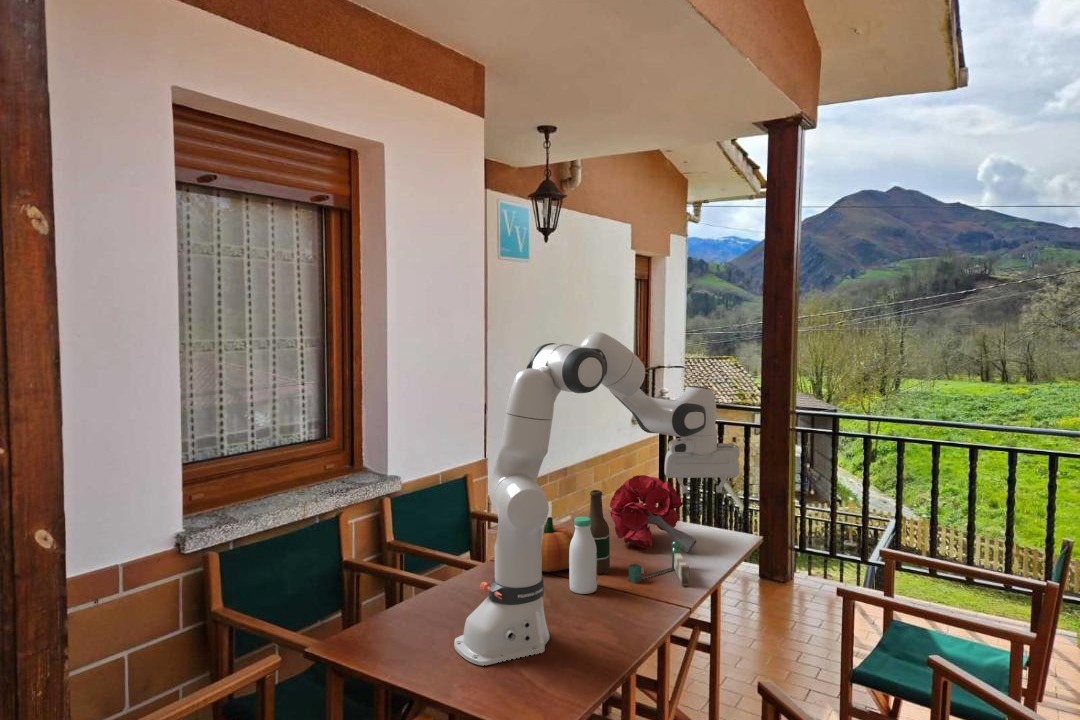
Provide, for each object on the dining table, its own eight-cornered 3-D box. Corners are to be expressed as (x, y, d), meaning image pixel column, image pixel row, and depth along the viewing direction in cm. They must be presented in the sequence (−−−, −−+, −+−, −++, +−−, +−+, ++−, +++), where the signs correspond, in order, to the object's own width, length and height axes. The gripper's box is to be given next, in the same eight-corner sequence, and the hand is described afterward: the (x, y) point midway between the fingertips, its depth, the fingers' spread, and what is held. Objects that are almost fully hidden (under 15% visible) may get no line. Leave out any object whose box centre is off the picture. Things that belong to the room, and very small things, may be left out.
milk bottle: (595, 595, 183) (594, 523, 182) (567, 593, 185) (566, 521, 183) (598, 584, 191) (598, 515, 189) (571, 583, 192) (571, 513, 191)
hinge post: (676, 570, 200) (676, 542, 200) (669, 568, 203) (669, 540, 202) (682, 568, 202) (682, 540, 201) (676, 566, 204) (675, 538, 204)
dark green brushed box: (635, 583, 191) (635, 568, 191) (628, 580, 193) (628, 565, 193) (643, 580, 193) (643, 565, 193) (637, 578, 195) (637, 562, 195)
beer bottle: (597, 577, 196) (596, 495, 195) (578, 569, 202) (577, 490, 201) (615, 570, 201) (614, 491, 200) (596, 563, 207) (595, 486, 206)
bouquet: (689, 559, 228) (620, 505, 242) (722, 506, 219) (647, 453, 233) (662, 584, 211) (589, 525, 224) (696, 528, 202) (617, 469, 215)
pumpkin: (535, 551, 220) (534, 505, 219) (589, 559, 211) (589, 512, 210) (506, 571, 202) (505, 522, 201) (565, 581, 194) (564, 529, 193)
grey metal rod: (639, 580, 193) (639, 579, 193) (637, 579, 194) (637, 577, 194) (674, 570, 201) (674, 568, 201) (671, 568, 202) (671, 567, 202)
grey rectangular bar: (673, 568, 201) (673, 551, 200) (680, 568, 201) (680, 551, 200) (681, 585, 188) (681, 566, 188) (689, 585, 188) (688, 566, 188)
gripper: (737, 440, 189) (738, 489, 190) (663, 442, 191) (664, 490, 192) (741, 445, 183) (742, 495, 183) (664, 446, 185) (666, 496, 186)
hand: (701, 492), depth 188 cm, fingers open, 8 cm apart
